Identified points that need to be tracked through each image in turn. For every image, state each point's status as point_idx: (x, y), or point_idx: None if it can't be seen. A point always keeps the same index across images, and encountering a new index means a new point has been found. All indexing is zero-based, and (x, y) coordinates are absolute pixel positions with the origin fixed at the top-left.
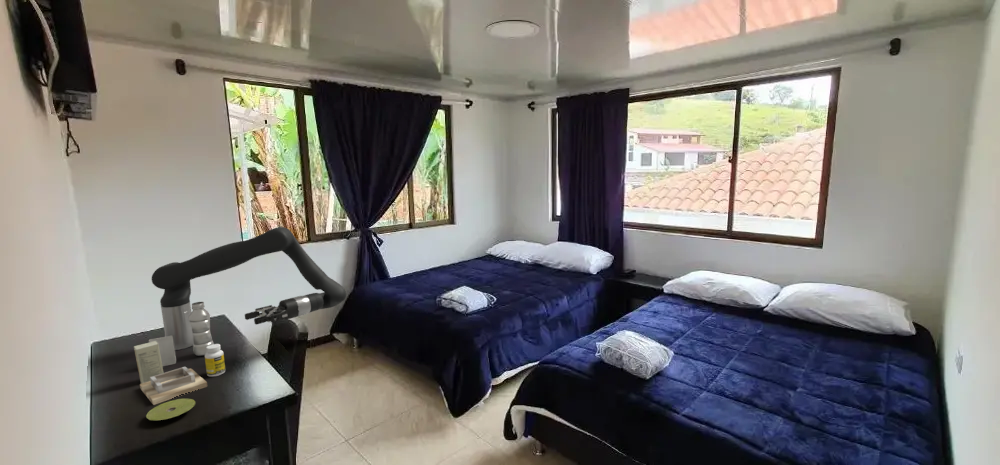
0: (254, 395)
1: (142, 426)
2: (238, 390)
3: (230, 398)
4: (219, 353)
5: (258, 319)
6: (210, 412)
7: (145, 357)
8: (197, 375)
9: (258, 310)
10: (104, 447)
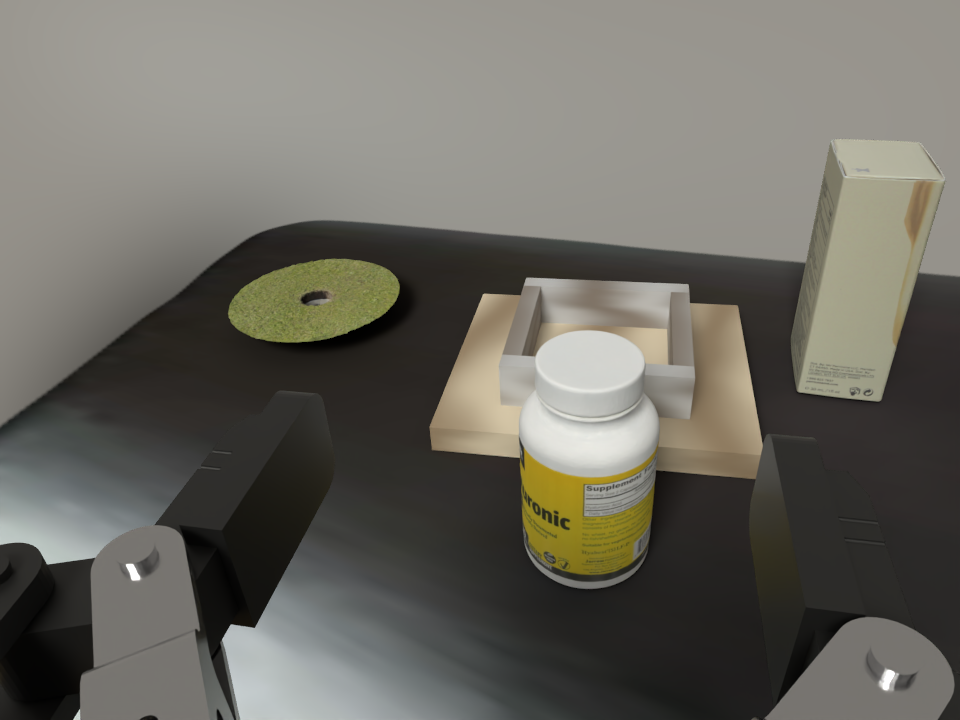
0: (32, 513)
1: None
2: None
3: (165, 449)
4: (526, 420)
5: (239, 427)
6: (165, 374)
7: (820, 215)
8: None
9: (836, 672)
10: (341, 227)
